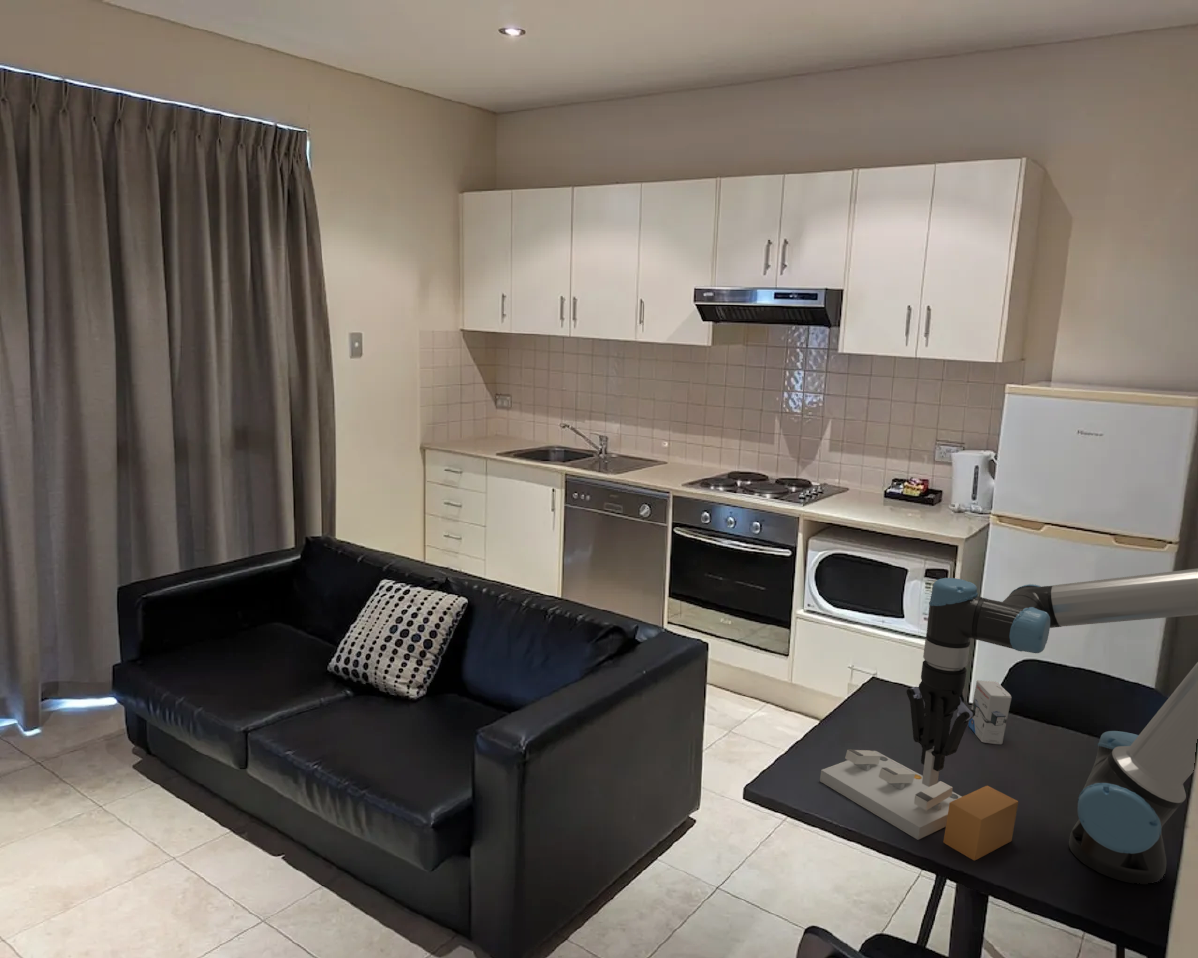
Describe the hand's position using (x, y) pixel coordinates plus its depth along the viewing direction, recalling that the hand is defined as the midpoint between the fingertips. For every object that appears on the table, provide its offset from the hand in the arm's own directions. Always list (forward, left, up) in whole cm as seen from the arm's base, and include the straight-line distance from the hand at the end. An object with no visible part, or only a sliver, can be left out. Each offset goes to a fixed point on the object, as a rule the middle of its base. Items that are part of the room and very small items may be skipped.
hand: (929, 783), depth 166 cm
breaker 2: (+9, -3, -4) cm, 10 cm away
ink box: (+15, -46, -9) cm, 49 cm away
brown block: (-9, -4, -8) cm, 13 cm away
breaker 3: (+1, -3, -4) cm, 5 cm away
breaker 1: (+17, -3, -4) cm, 18 cm away
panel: (+9, -3, -8) cm, 12 cm away
